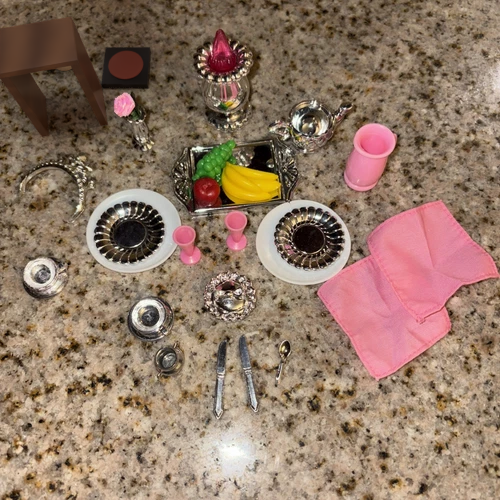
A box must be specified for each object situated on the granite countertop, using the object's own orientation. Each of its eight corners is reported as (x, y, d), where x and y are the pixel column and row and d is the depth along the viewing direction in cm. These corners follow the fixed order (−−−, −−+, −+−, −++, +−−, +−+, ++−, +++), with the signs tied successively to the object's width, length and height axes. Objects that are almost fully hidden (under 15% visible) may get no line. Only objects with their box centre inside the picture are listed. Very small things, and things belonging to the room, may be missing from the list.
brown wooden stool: (41, 137, 104) (-4, 74, 85) (38, 98, 107) (-7, 29, 88) (107, 124, 105) (77, 59, 86) (102, 87, 108) (71, 16, 89)
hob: (103, 88, 108) (100, 83, 106) (107, 51, 111) (105, 46, 110) (148, 88, 108) (146, 83, 107) (151, 51, 111) (149, 46, 110)
